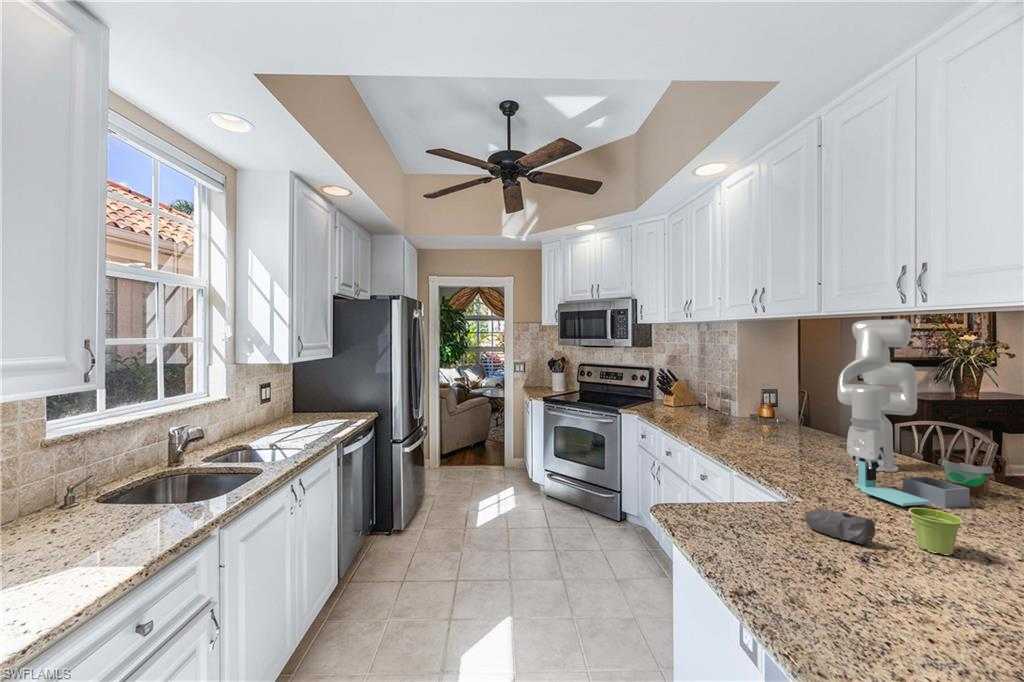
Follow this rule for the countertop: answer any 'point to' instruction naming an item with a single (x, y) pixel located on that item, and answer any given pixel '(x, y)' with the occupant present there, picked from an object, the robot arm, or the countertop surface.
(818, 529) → the perforated stone tool
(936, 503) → the tub
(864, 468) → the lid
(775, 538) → the countertop surface
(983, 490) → the food container
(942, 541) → the plant pot
